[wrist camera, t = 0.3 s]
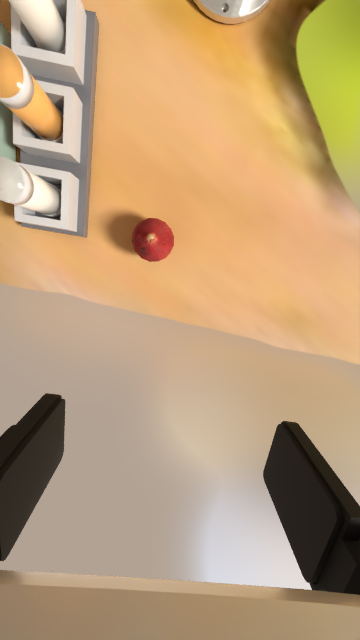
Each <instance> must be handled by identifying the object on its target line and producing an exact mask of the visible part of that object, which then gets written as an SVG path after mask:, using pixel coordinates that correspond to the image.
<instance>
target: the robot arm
mask: <svg viewBox="0 0 360 640" xmlns="http://www.w3.org/2000/svg"><path fill="white" fill-rule="evenodd" d="M193 1H194V2H195V3H196V5H197V6H198V7H199V9H200V10H201V11H203V12H204V13H205V14H206V15H207V16H208V17H210V18H212V19H214V20H215V21H218V22H221V23H225V24H237V23H242V22H245V21H247V20H249V19H251V18H253V17H255V16H256V15H257V14H259V13H260V12H261V11H262V10H263V9H264V8H265V7H266V6H267V4H268V3H269V2H270V0H193ZM64 425H65V400H64V399H61V395H56V394H45V395H43V396H42V398H41V399H40V400H39V401H38V402H37V403H36V404H35V405H34V406H33V407H32V408H31V409H30V410H29V411H28V412H27V413H26V415H25V416H24V417H23V418H22V419H21V420H20V421H19V422H18V423H17V424H16V425H13V426H11V427H10V428H8V430H6V431H5V433H4V434H3V435H2V436H1V437H0V561H4V560H5V559H6V558H7V556H8V555H9V553H10V551H11V549H12V548H13V546H14V544H15V542H16V540H17V539H18V537H19V535H20V533H21V531H22V529H23V528H24V526H25V524H26V522H27V520H28V519H29V517H30V515H31V513H32V511H33V509H34V508H35V506H36V504H37V503H38V501H39V499H40V497H41V495H42V494H43V492H44V490H45V488H46V486H47V484H48V483H49V481H50V479H51V477H52V476H53V474H54V472H55V470H56V468H57V467H58V465H59V463H60V461H61V459H62V456H63V452H64ZM263 477H264V481H265V484H266V486H267V488H268V491H269V494H270V496H271V498H272V501H273V503H274V505H275V508H276V511H277V513H278V516H279V518H280V521H281V523H282V526H283V528H284V530H285V533H286V535H287V538H288V540H289V543H290V545H291V548H292V550H293V553H294V555H295V557H296V560H297V563H298V565H299V568H300V570H301V572H302V575H303V577H304V579H305V580H306V581H307V582H308V583H310V585H311V588H312V590H304V589H291V588H278V587H264V586H251V585H238V584H223V583H210V582H209V583H208V582H195V581H181V580H166V579H152V578H136V577H120V576H119V577H118V576H103V575H87V574H71V573H55V572H31V571H6V570H0V640H360V506H359V505H358V503H357V502H356V501H355V499H354V498H353V497H352V495H351V494H350V493H349V491H348V490H347V489H346V487H345V486H344V485H343V483H342V482H341V481H340V479H339V478H338V476H337V475H336V474H335V473H334V471H333V470H332V468H331V467H330V466H329V464H328V463H327V462H326V460H325V459H324V458H323V456H322V455H321V454H320V452H319V451H318V450H317V449H316V447H315V446H314V444H313V443H312V442H311V440H310V439H309V438H308V436H307V435H306V434H305V432H304V431H303V430H302V428H301V427H300V426H299V424H298V423H295V422H288V421H283V422H282V423H281V424H279V425H278V426H277V429H276V432H275V435H274V439H273V442H272V445H271V448H270V452H269V455H268V458H267V462H266V465H265V468H264V473H263Z"/></svg>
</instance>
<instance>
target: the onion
mask: <svg viewBox="0 0 360 640" xmlns="http://www.w3.org/2000/svg"><path fill="white" fill-rule="evenodd" d="M132 243H133V246H134V249H135V251H136V252H137V254H138V255H139V256H140V257H141V258H143V259H145V260H147V261H150V262H151V261H160V260H162V259H164V258H166V257H167V256H168V255H169V254H170V252H171V250H172V248H173V246H174V236H173V233H172V231H171V229H170V227H169V226H168V225H167V224H166V223H165V222H163V221H161V220H159V219H155V218H148V219H146V220H143V221H141V222H140V223H139V224H138V225H137V226H136V228H135V230H134V232H133V237H132Z"/></svg>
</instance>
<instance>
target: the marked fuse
mask: <svg viewBox="0 0 360 640" xmlns="http://www.w3.org/2000/svg"><path fill="white" fill-rule="evenodd" d="M0 102H2V103H3V104H4V105H5V106H7V107H8V108H9V109H10V110H11V111H12V112H13V113H14V114H16V115H17V116H18V117H19V118H20V119H21V120H22V121H23V122H24V123H25V124H27V125H28V126H29V127H30V128H31V129H32V130H33V131H34V132H35V133H37V135H38V136H39V137H40V138H41V139H43V140H45V141H50V142H56V143H61V144H63V119H64V116H63V114H62V113H61V112H60V110H59V109H58V108H57V107H56V106H55V105H54V103H53V102H52V101H51V100H50V98H49V97H48V96H47V94H46V93H45V92H44V91H43V89H42V88H41V87H40V85H39V84H38V83H37V82H36V80H35V79H34V78H33V76H32V75H31V74H30V72H29V71H28V69H27V68H26V67H25V65H24V64H23V63H22V61H21V60H20V59H19V58H18V56H17V55H16V54H15V53H14V52H13V51H12V50H11V49H10V48H8V47H7V46H5V45H2V44H0Z"/></svg>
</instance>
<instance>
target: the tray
mask: <svg viewBox="0 0 360 640" xmlns="http://www.w3.org/2000/svg"><path fill="white" fill-rule="evenodd" d="M0 44H2V45H5V46H7V47H8V48H10V49H11V50H12V48H11V35H10V34H9V32H8V31H7V30H6V28H5V27H4V25H3V24H2V23H1V21H0ZM0 157H6V158H8V159H10V160H12V161H14V162H16V145H14V144H13V112H12V111H11V110H10V109H9V108H8V107H7V106H5V105H4V104H3V103H2V102H0Z"/></svg>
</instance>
